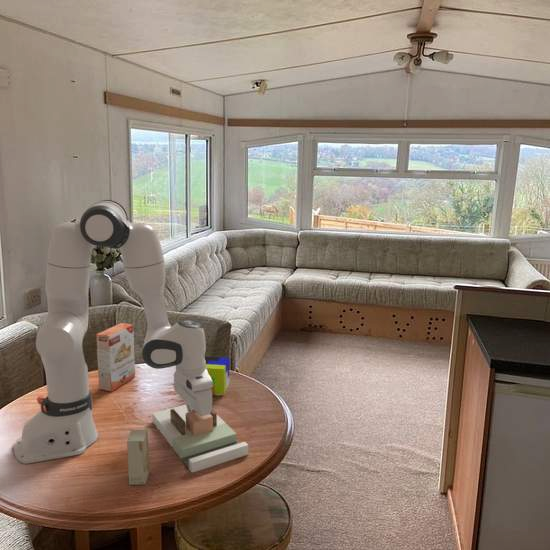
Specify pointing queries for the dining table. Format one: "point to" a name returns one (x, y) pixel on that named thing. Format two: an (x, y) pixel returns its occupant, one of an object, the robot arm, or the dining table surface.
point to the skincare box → (138, 457)
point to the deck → (200, 441)
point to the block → (199, 423)
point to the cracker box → (115, 356)
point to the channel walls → (180, 423)
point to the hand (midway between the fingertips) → (192, 416)
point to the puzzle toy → (218, 373)
